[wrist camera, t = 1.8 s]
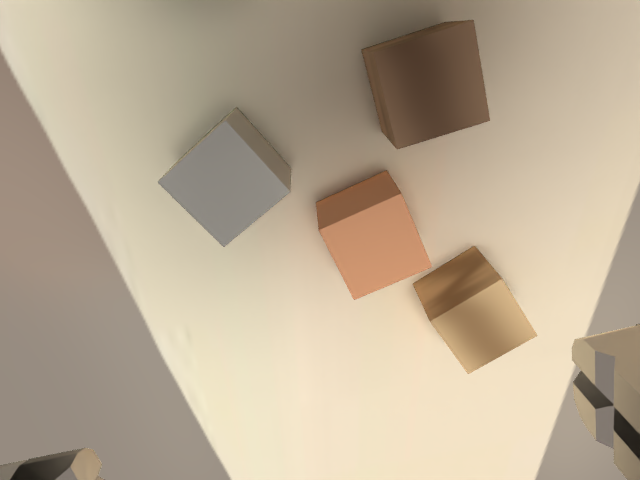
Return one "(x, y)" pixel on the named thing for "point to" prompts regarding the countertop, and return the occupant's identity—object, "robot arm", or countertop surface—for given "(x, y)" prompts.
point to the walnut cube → (427, 83)
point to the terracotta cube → (371, 235)
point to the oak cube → (473, 310)
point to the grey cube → (229, 178)
